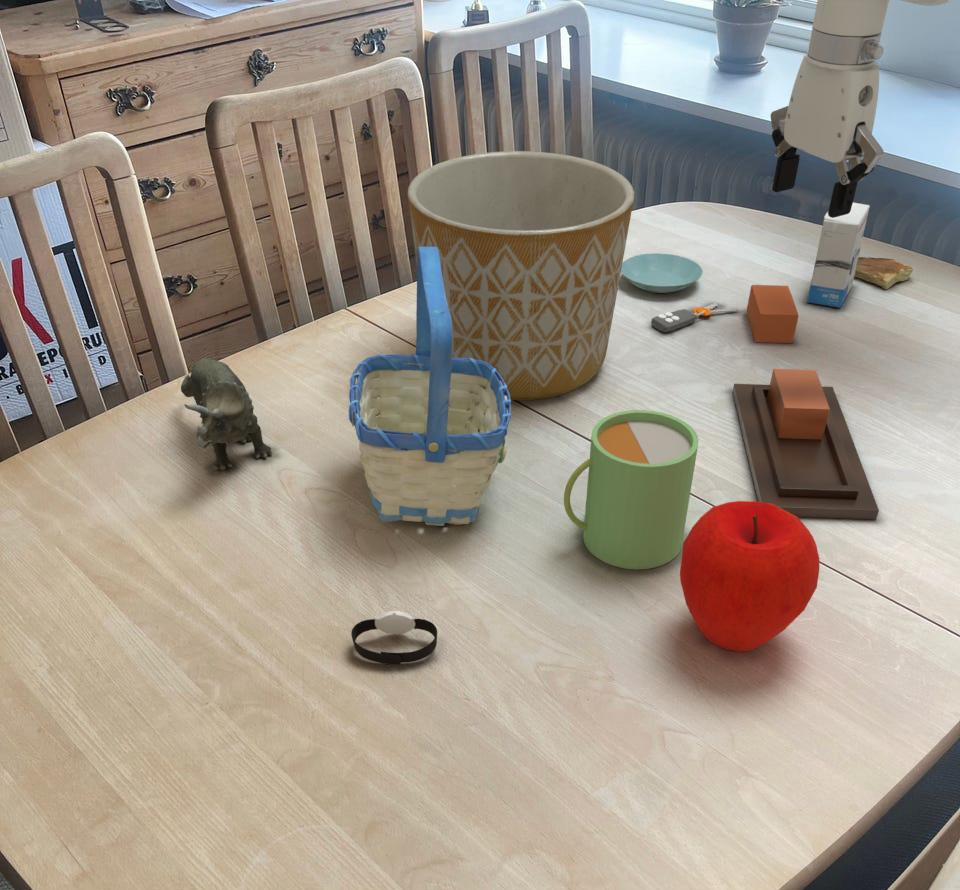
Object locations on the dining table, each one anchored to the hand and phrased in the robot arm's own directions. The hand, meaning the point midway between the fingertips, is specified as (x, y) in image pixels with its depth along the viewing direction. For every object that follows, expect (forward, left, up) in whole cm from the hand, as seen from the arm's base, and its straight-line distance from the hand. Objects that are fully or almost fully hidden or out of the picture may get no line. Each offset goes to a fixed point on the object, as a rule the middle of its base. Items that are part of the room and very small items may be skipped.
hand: (810, 202), depth 129 cm
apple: (+14, +61, -18) cm, 65 cm away
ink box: (-8, -13, -18) cm, 23 cm away
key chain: (+12, -4, -18) cm, 21 cm away
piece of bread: (-15, -19, -18) cm, 30 cm away
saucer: (+16, -15, -18) cm, 28 cm away
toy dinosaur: (+68, +32, -18) cm, 77 cm away
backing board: (+3, +29, -17) cm, 34 cm away
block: (+2, -2, -17) cm, 18 cm away
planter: (+36, +10, -18) cm, 41 cm away
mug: (+24, +47, -18) cm, 56 cm away
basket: (+44, +39, -18) cm, 61 cm away
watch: (+45, +65, -18) cm, 81 cm away
